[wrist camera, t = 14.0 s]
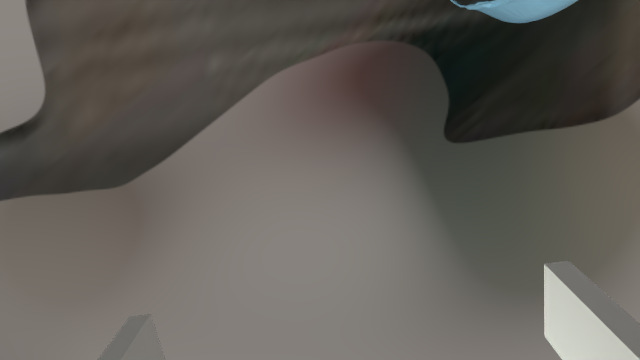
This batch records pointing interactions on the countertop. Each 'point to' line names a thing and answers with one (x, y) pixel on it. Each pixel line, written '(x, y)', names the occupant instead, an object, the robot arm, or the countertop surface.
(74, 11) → the countertop surface
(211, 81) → the countertop surface
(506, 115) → the countertop surface
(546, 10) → the robot arm
